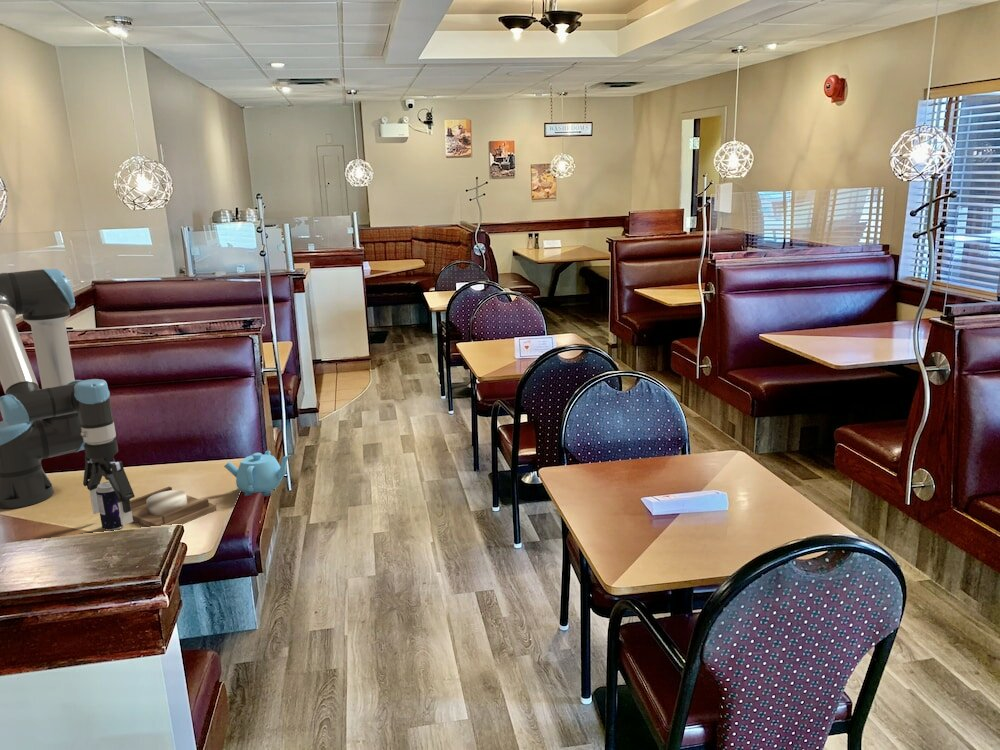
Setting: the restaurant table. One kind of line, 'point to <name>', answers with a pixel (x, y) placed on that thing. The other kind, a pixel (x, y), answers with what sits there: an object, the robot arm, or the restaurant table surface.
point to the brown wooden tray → (168, 508)
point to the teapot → (258, 473)
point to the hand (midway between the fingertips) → (113, 517)
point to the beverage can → (108, 507)
